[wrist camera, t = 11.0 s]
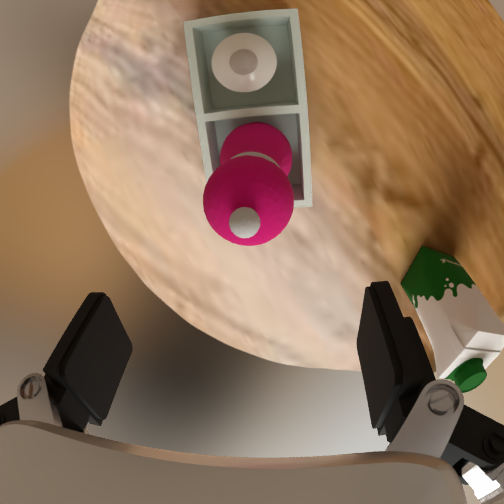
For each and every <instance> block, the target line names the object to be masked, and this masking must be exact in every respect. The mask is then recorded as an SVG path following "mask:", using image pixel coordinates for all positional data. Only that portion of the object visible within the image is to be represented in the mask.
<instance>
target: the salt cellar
mask: <svg viewBox="0 0 504 504" xmlns="http://www.w3.org/2000/svg"><path fill="white" fill-rule="evenodd" d="M276 66H277V59H276V54H275V51H274V49H273V48H272V46H271V45H270V44H269V43H268V42H267V41H266V40H265V39H263V38H262V37H260V36H258V35H255V34H251V33H238V34H234V35H231V36H229V37H227V38H226V39H224V40H223V41H222V42H221V43H220V44H219V45H218V46H217V47H216V49H215V51H214V53H213V56H212V70H213V73H214V75H215V77H216V78H217V80H218V81H219V82H220V83H221V84H222V85H223V86H225V87H226V88H228V89H230V90H233V91H237V92H251V91H255V90H257V89H260V88H261V87H263V86H265V85H266V84H267V83H268V82H269V81H270V80H271V78H272V77H273V75H274V73H275V70H276Z"/></svg>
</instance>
